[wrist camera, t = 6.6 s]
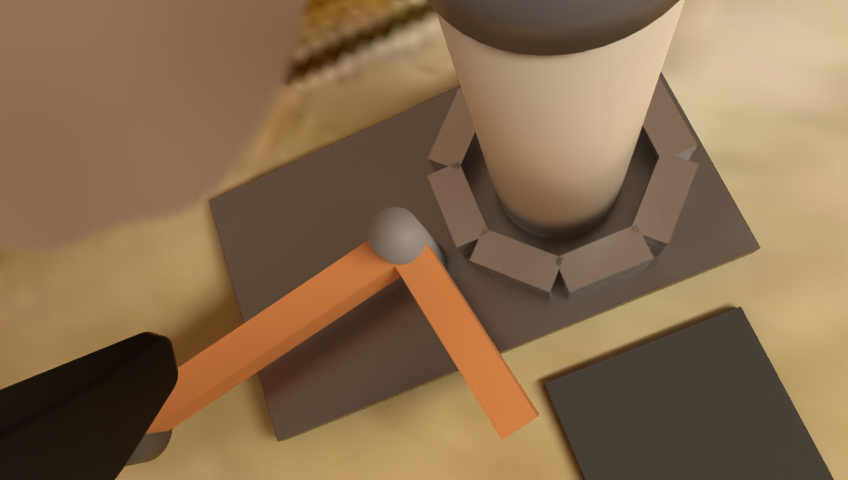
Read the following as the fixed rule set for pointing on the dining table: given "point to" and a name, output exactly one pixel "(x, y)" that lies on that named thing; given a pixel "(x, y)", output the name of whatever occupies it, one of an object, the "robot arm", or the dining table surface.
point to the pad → (687, 411)
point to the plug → (558, 98)
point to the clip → (333, 297)
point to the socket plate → (459, 249)
